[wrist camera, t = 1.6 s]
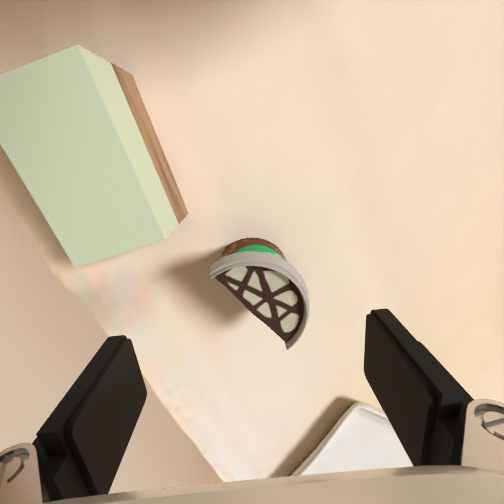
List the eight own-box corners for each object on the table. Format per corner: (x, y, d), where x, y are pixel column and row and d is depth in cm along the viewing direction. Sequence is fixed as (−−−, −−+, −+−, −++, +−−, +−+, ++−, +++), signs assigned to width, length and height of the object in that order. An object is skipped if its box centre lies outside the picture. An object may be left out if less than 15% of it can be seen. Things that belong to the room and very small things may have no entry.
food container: (315, 274, 37) (338, 319, 27) (280, 301, 38) (290, 353, 29) (253, 207, 33) (255, 232, 24) (217, 239, 35) (205, 275, 25)
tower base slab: (133, 75, 28) (110, 62, 24) (188, 212, 34) (179, 223, 29) (56, 105, 29) (19, 97, 24) (122, 233, 34) (102, 247, 30)
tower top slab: (111, 63, 24) (77, 44, 19) (178, 224, 29) (165, 240, 24) (19, 98, 24) (-34, 87, 20) (101, 248, 30) (74, 267, 25)
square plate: (476, 435, 49) (494, 458, 46) (384, 514, 58) (393, 539, 54) (350, 385, 44) (359, 407, 41) (271, 480, 53) (272, 505, 50)
